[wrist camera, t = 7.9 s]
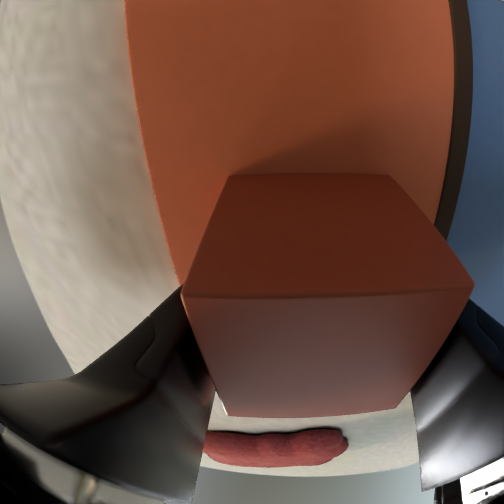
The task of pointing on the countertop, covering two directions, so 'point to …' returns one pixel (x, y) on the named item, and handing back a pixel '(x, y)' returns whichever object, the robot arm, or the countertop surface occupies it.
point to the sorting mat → (327, 109)
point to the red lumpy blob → (275, 448)
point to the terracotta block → (320, 294)
